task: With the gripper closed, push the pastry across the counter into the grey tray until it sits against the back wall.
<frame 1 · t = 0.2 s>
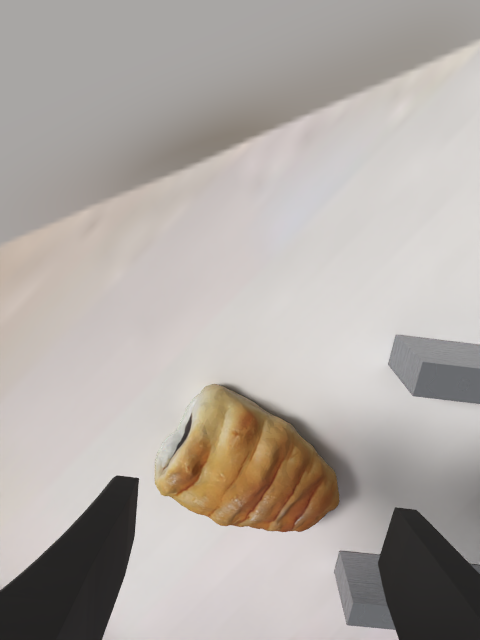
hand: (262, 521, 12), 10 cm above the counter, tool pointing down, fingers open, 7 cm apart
grey tray: (469, 477, 23), on the counter
pastry: (243, 444, 23), on the counter
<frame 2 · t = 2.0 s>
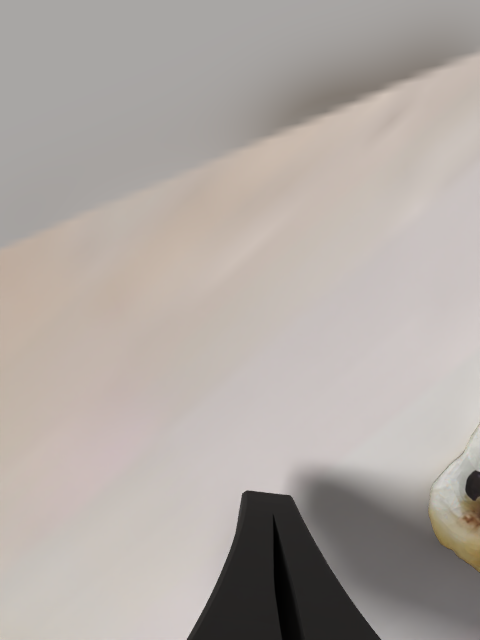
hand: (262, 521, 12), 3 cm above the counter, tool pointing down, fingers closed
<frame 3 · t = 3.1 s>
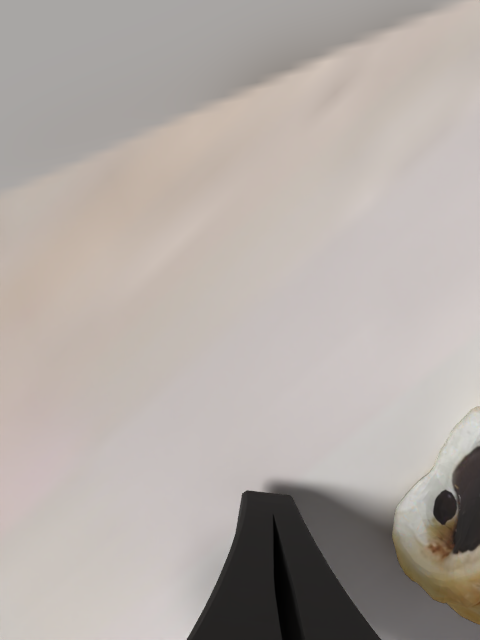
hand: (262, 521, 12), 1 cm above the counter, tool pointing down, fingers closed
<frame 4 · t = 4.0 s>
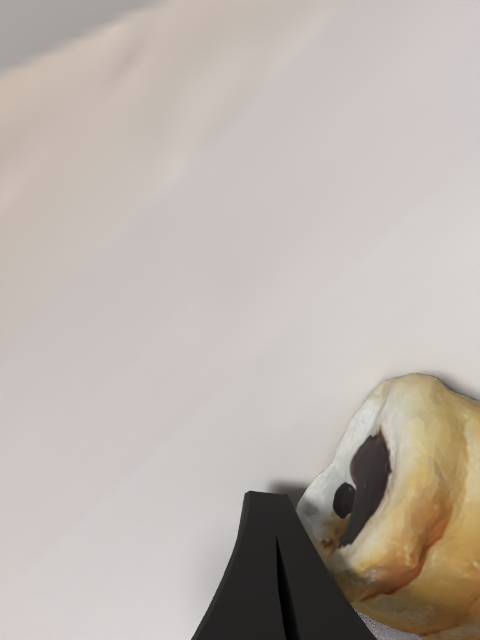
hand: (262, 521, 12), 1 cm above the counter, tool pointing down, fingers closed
pastry: (439, 481, 13), on the counter, touching gripper
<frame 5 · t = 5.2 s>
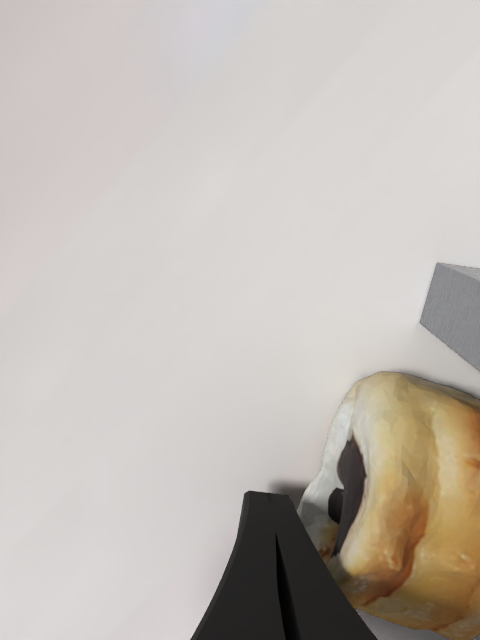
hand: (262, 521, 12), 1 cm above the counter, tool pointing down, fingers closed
pastry: (437, 469, 13), on the counter, touching gripper
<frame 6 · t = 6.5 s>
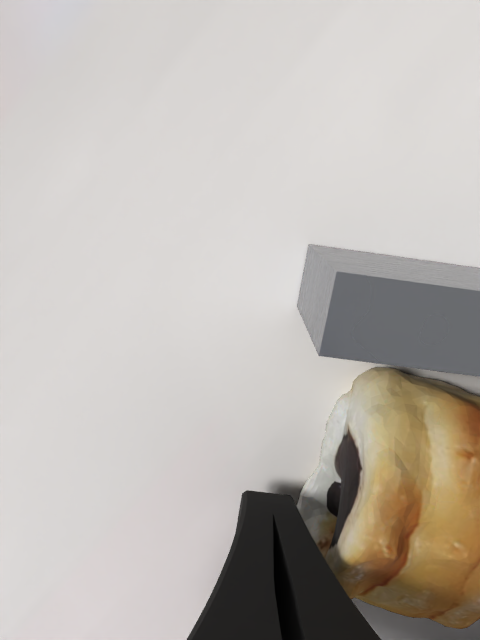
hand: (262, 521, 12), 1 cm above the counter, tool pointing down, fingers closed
grey tray: (455, 518, 13), on the counter
pastry: (433, 462, 13), on the counter
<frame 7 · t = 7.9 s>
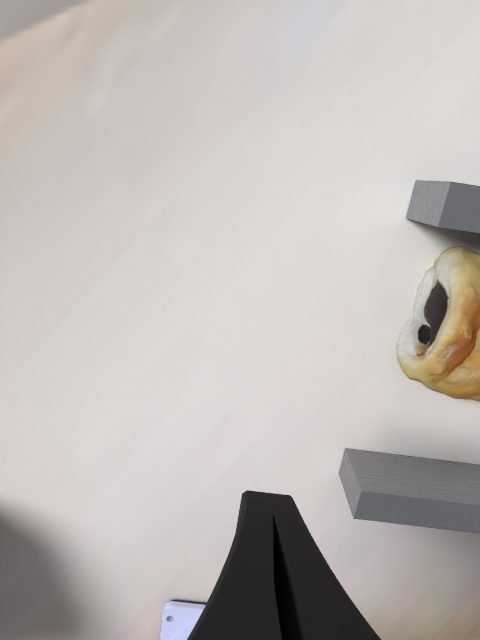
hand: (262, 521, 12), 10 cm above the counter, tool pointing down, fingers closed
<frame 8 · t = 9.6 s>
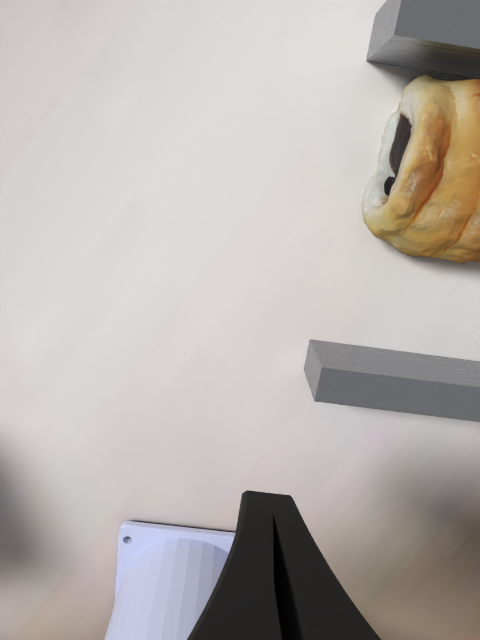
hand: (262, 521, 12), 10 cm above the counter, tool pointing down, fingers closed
grey tray: (466, 232, 19), on the counter
pastry: (455, 176, 19), on the counter
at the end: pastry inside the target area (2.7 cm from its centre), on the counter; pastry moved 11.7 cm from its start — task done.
